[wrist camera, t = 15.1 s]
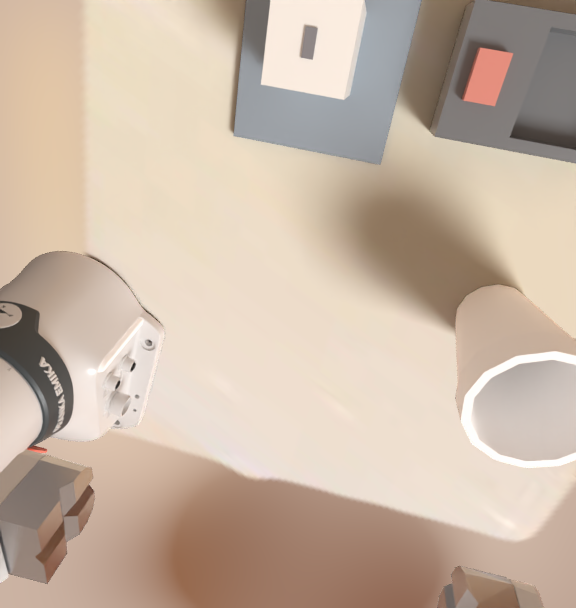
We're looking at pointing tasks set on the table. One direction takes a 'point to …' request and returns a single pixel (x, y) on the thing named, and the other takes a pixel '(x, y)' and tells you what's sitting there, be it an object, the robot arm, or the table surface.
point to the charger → (313, 45)
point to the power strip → (512, 81)
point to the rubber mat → (320, 109)
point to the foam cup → (515, 379)
